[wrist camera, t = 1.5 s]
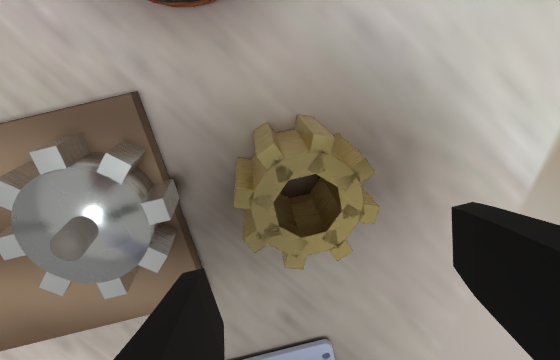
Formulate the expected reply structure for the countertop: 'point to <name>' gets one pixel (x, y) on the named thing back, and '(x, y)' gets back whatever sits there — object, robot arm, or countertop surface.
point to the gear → (88, 213)
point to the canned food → (182, 2)
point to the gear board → (82, 229)
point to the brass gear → (306, 208)
